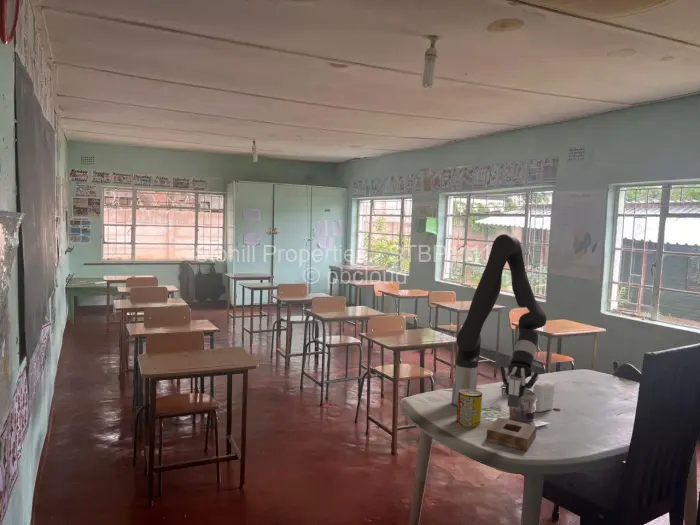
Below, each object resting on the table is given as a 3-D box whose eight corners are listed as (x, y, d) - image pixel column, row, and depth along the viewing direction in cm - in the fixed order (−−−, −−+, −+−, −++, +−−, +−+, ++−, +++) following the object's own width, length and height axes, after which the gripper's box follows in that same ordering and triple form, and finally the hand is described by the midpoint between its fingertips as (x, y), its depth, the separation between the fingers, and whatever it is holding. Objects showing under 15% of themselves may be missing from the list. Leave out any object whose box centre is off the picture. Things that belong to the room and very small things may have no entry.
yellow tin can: (454, 417, 209) (456, 388, 208) (477, 419, 208) (479, 389, 207) (458, 426, 200) (460, 395, 199) (482, 427, 199) (484, 396, 199)
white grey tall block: (507, 406, 188) (509, 376, 187) (510, 403, 192) (512, 373, 191) (517, 408, 186) (520, 378, 185) (520, 405, 190) (522, 375, 189)
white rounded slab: (545, 406, 228) (547, 378, 227) (553, 409, 225) (556, 381, 224) (530, 409, 222) (532, 381, 222) (538, 413, 219) (541, 384, 218)
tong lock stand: (486, 440, 187) (487, 429, 186) (497, 428, 200) (498, 417, 199) (526, 451, 180) (527, 439, 179) (535, 437, 193) (536, 426, 192)
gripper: (503, 346, 198) (492, 385, 188) (542, 352, 190) (533, 394, 181) (505, 357, 202) (495, 396, 193) (544, 364, 195) (535, 404, 186)
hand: (513, 395), depth 187 cm, fingers closed on white grey tall block, 3 cm apart
